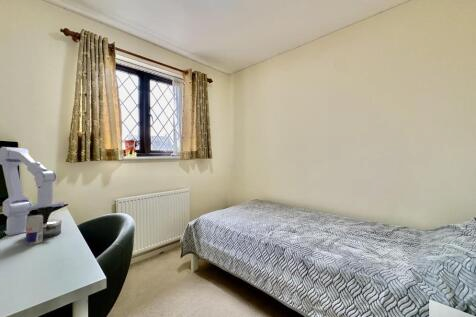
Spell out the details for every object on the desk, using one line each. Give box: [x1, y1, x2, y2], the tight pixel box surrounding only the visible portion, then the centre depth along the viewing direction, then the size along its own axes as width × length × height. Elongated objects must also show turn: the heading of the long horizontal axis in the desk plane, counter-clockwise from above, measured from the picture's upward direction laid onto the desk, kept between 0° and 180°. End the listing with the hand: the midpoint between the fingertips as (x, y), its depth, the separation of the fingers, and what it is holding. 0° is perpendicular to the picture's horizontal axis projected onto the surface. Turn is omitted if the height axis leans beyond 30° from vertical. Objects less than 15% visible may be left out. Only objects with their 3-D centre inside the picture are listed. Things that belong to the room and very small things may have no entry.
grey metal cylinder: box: [43, 223, 62, 240], centre depth 107 cm, size 13×13×5 cm
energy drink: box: [25, 214, 44, 246], centre depth 97 cm, size 5×5×12 cm
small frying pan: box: [25, 218, 63, 230], centre depth 106 cm, size 19×13×1 cm
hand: (44, 222), depth 107 cm, fingers closed, pressing on small frying pan
